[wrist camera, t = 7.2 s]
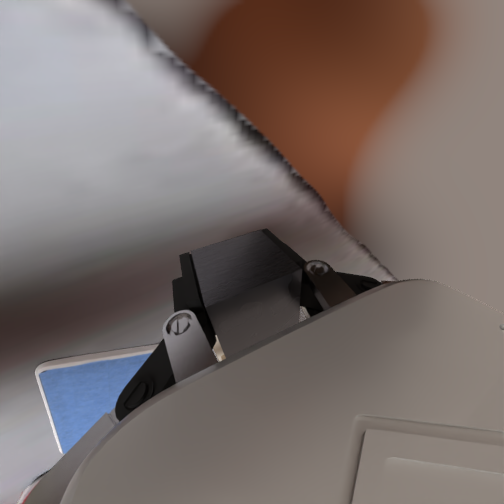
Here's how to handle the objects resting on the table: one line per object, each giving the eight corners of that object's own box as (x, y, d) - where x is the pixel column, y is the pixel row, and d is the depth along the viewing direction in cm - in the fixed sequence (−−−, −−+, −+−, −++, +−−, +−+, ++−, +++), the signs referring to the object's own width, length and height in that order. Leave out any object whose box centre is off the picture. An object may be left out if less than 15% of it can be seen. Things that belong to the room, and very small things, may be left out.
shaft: (190, 251, 9) (205, 307, 6) (260, 229, 10) (302, 269, 7) (247, 403, 23) (261, 445, 20) (275, 387, 24) (292, 424, 21)
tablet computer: (164, 414, 31) (164, 423, 30) (62, 446, 25) (58, 459, 24) (179, 336, 23) (180, 346, 22) (37, 356, 17) (29, 371, 16)
